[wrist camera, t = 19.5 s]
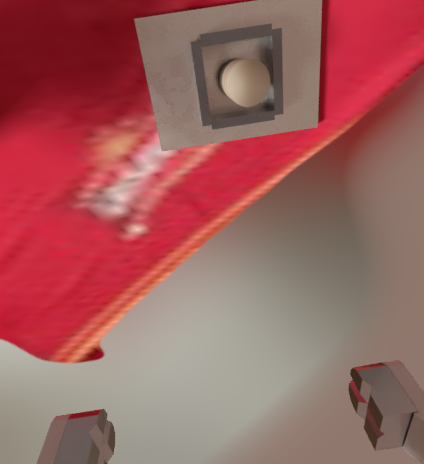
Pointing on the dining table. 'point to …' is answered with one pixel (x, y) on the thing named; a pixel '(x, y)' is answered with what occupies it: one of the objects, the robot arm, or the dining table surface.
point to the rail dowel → (244, 81)
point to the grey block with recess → (221, 50)
